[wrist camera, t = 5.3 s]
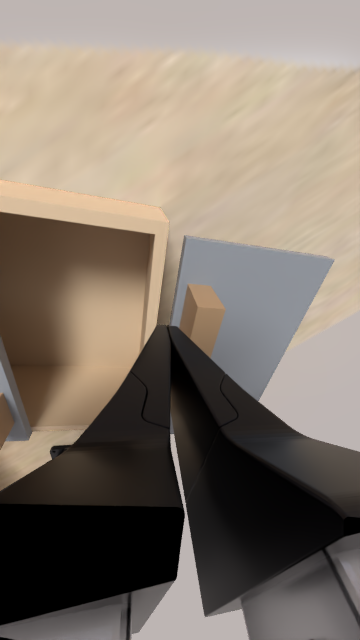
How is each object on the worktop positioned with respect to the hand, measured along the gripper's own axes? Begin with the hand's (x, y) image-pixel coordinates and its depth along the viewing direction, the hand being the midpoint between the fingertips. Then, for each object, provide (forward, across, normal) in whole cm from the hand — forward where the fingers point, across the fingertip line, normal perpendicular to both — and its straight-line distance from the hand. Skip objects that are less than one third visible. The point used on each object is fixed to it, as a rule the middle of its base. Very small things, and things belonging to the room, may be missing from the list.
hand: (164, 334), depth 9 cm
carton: (+10, +8, +4) cm, 14 cm away
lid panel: (+3, -5, +4) cm, 7 cm away
